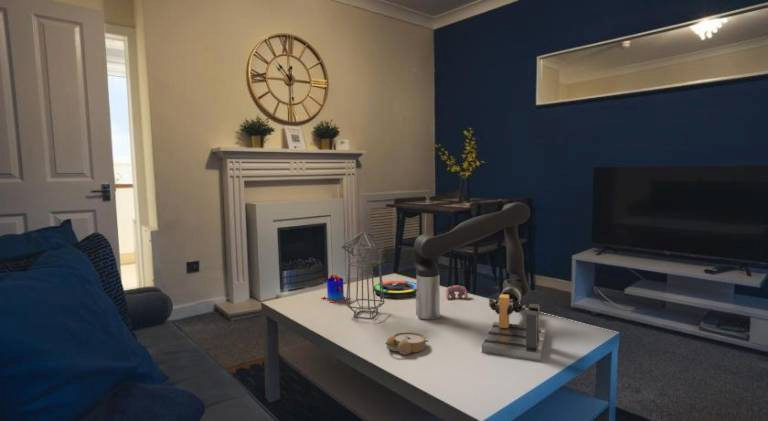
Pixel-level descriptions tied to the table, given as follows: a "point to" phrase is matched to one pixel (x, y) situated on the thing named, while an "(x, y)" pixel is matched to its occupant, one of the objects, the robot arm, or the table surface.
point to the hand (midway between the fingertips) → (503, 311)
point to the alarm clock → (406, 342)
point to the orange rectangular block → (503, 311)
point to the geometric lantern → (353, 243)
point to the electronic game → (397, 289)
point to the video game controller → (456, 288)
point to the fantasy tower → (335, 290)
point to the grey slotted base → (517, 338)
